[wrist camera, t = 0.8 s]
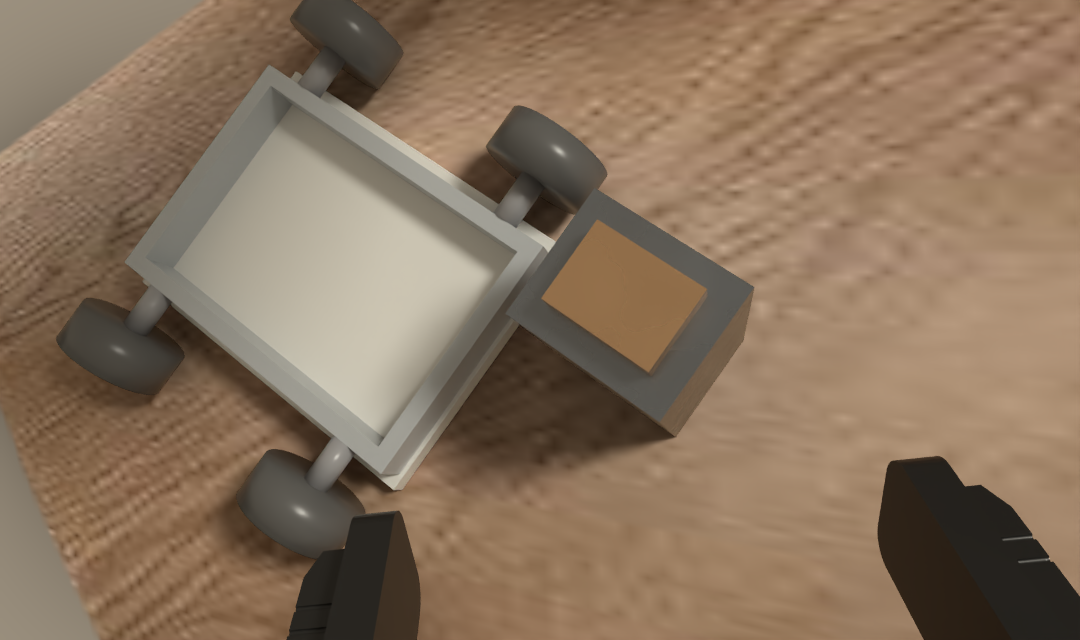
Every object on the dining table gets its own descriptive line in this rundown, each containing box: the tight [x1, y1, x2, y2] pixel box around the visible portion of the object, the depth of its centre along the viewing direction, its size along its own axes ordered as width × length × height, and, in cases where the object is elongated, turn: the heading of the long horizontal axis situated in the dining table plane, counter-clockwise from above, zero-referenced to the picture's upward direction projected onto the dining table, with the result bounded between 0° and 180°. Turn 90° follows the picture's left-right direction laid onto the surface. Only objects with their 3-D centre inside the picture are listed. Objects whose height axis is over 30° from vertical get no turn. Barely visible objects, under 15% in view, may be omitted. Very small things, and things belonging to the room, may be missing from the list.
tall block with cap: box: [505, 188, 754, 437], centre depth 29 cm, size 5×6×11 cm
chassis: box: [56, 0, 607, 559], centre depth 36 cm, size 20×17×5 cm
